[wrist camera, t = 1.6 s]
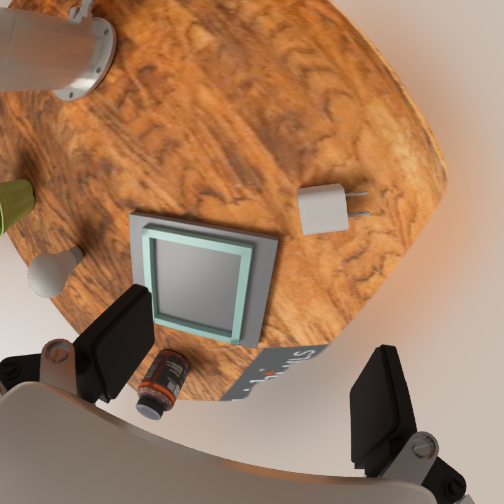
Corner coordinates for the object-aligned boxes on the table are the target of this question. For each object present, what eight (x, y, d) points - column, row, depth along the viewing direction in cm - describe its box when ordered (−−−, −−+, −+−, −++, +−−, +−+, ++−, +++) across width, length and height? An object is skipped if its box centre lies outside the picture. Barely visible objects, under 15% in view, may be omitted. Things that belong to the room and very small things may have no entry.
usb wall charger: (297, 187, 27) (296, 195, 24) (362, 179, 26) (372, 186, 22) (303, 224, 29) (303, 237, 25) (366, 216, 27) (375, 228, 24)
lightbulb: (99, 252, 35) (49, 289, 25) (88, 276, 38) (44, 314, 28) (73, 225, 34) (21, 256, 25) (64, 252, 37) (18, 284, 27)
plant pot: (45, 188, 33) (5, 204, 25) (35, 230, 37) (1, 250, 29) (20, 159, 32) (-17, 171, 24) (12, 201, 36) (-21, 216, 28)
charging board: (134, 211, 32) (124, 216, 30) (279, 236, 30) (277, 244, 28) (141, 313, 38) (134, 321, 37) (258, 343, 37) (255, 354, 35)
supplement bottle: (155, 362, 43) (127, 410, 33) (161, 342, 40) (129, 394, 30) (186, 377, 43) (162, 428, 33) (194, 359, 41) (169, 415, 30)
